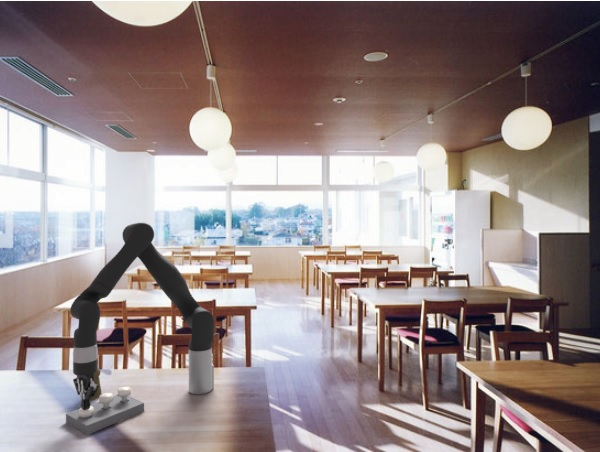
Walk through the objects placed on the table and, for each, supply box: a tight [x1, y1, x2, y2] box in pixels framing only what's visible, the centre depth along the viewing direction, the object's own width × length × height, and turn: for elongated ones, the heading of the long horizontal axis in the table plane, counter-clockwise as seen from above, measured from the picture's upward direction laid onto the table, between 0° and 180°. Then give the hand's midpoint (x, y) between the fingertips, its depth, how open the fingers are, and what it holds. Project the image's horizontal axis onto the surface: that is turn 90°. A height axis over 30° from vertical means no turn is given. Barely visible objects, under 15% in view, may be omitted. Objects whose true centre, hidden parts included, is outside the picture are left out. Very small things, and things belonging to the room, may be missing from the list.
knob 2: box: [117, 386, 132, 403], centre depth 158 cm, size 4×4×5 cm
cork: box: [90, 367, 103, 401], centre depth 169 cm, size 6×6×11 cm
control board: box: [65, 394, 145, 436], centre depth 152 cm, size 21×14×3 cm, turn 144°
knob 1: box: [78, 406, 94, 418], centre depth 146 cm, size 4×4×5 cm
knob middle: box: [98, 392, 114, 410], centre depth 152 cm, size 4×4×5 cm
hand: (85, 408), depth 146 cm, fingers closed
